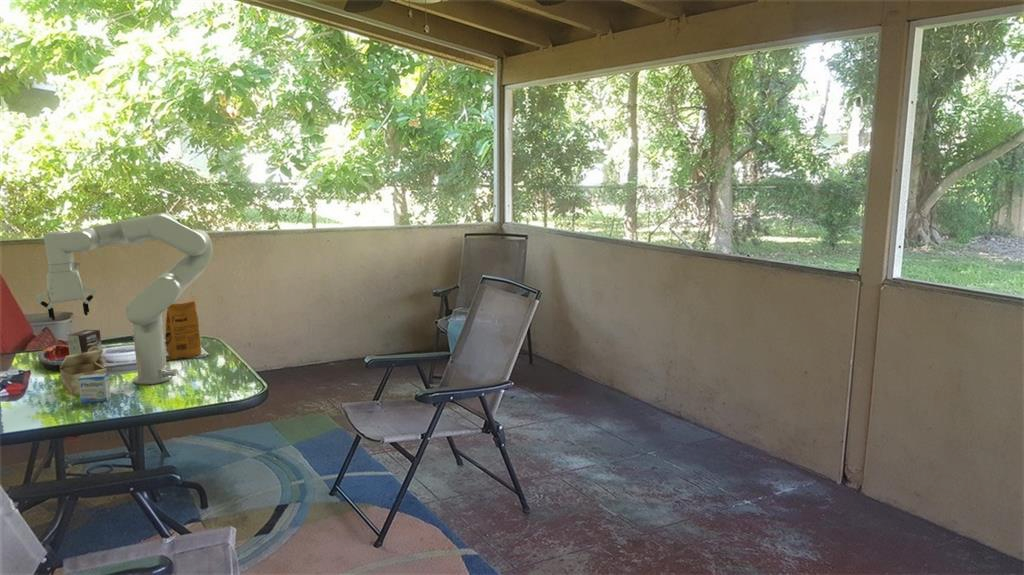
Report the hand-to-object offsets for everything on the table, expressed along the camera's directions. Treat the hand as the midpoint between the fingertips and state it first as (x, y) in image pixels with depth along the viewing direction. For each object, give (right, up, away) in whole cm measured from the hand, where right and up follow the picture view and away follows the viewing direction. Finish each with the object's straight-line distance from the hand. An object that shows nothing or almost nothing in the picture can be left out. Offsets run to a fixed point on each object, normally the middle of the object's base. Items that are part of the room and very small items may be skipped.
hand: (69, 317), depth 242 cm
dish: (-24, -20, +34) cm, 46 cm away
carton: (+4, -25, +3) cm, 25 cm away
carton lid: (+3, -15, +2) cm, 15 cm away
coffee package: (+19, -18, +44) cm, 51 cm away
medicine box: (+15, -27, -10) cm, 33 cm away
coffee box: (-5, -22, +19) cm, 29 cm away
